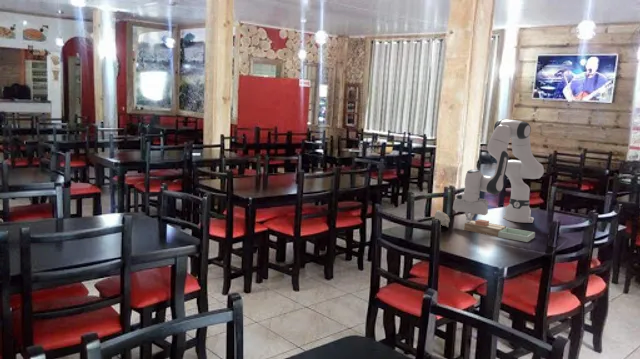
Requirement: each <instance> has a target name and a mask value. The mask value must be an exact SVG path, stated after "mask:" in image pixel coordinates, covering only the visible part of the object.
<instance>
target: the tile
mask: <svg viewBox="0 0 640 359" xmlns="http://www.w3.org/2000/svg"><path fill="white" fill-rule="evenodd" d="M474 221H475V224H477V225H483V226H486V225H488V224H489V223H490V221H489V220H486V219H476V220H474Z"/></svg>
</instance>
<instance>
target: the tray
mask: <svg viewBox="0 0 640 359" xmlns="http://www.w3.org/2000/svg"><path fill="white" fill-rule="evenodd" d="M497 237H498V238H502V239H508V240H513V241H520V242H523V243H524V242H525V243H528V242H530V241H531V240H533V239H535V237H536V232H535V231H529V230H523V229H517V228H512V227H506V228H505V229H503V230H501V231H499V232H498V236H497Z"/></svg>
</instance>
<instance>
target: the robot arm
mask: <svg viewBox="0 0 640 359" xmlns="http://www.w3.org/2000/svg"><path fill="white" fill-rule="evenodd" d="M493 126H494V128H493V131H492V133H491V136H490V138H489V140H488V143H487V148H486V149H487V152H488V153H489V155H490V156H491V157H492V158H494V159H495V160H496V167H495V172H494V175H493V176H490V175H486V174H484V173H482V172H481V170H480V169H477V168H475V169H468V170H467V171H466V174H465V178H464V190H463V193H459V194H456V195H455V196H454V197H455V199H454V200H453V205H452V210H453V211H456V212H461V213H462V212H463V213H464V214H465V218H466V220H465V221H469V222H470V221H472V220H473V218H474V217H475V215H479V216H480V215H481V216H486V215H488V213H489V212H488V211H489V208H488V207H489V200H487V199H486V198H480V192H484V193H488V194H491V195H498V194H500V193H501V192H502V191H503V189H504V182H505V176H506V177H507V178H508V179H509V180H508V181H509V182H510V186H511V188H510V190H511V191H510V198H509V204H508V205H507V206H506V210H505V215H504V216H502V219H504V220H507V221H510V222H516V223H530V224H531V223H532V224H533V222H534V219H535V218H534V217H533V216H532V213H531V212H532V210H531V208H530V202H531V200H530V195H531V194H530V193H531V192H530V191H531V189H530V186H529V185H528V184H527V183H525V182H524V180H523V179H530V180H536V179H538V180H540V179H541V177H543V175H544V174H545V172H544V171H545V169H544V168H545V167H544V166H543V164H542V163H540V162H539V161H538V160H537V159H536V157H535V156H534V155H533V154H534V153H533V152H532V147H531V145H532V144H531V137H530V134H531V131H532V128H531V125H530V124H529V123H528V122H526V121H522V120H517V119H505V118H502V119H498V120H496V122H495V123H494V125H493ZM510 140H511V141H510ZM510 142H511V150H512V151H511V152H512V155H513V156H514V157H515V158H516V159H509V154H508V151H507V150H508V146H509V145H510V144H509V143H510ZM469 214H470V215H471V216H469Z"/></svg>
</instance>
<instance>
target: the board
mask: <svg viewBox="0 0 640 359" xmlns="http://www.w3.org/2000/svg"><path fill="white" fill-rule="evenodd" d="M475 221H476V220H474V219H472V221H470V220H469V221H468V222H465V223H464V227H463V231H467V232H472V233H478V234H482V235H488V236H493V237H498V232H499V231H501V230H503V229H505V228H507V226H506V225H502V224H497V223H496V224H495V223H490V222H489V224H488V225H486V226H483V225H477V224H475Z"/></svg>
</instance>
